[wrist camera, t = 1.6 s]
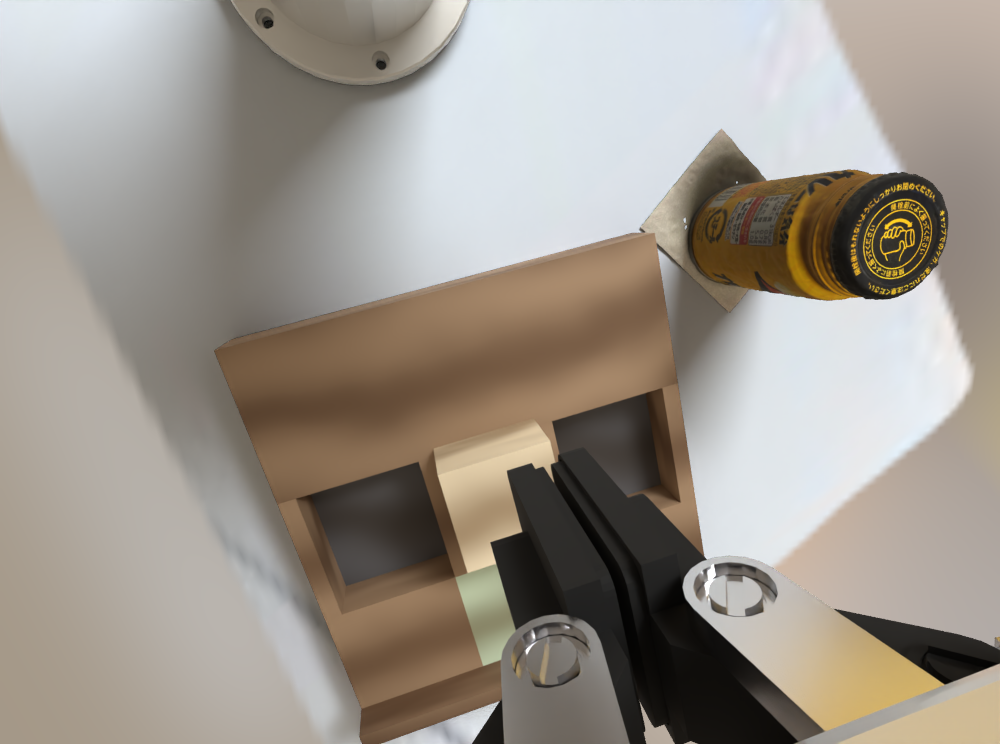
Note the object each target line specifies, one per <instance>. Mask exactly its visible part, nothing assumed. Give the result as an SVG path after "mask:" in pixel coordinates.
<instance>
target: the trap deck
mask: <svg viewBox="0 0 1000 744" xmlns="http://www.w3.org/2000/svg"><path fill="white" fill-rule="evenodd" d="M214 352H215V354H216V356H217V359H218V361H219V364H220V366H221V369H222V371H223V373H224V376H225V378H226V381H227V383H228V386H229V388H230V390H231V393H232V395H233V398H234V400H235V403H236V405H237V407H238V410H239V412H240V415H241V417H242V420H243V422H244V424H245V427H246V429H247V432H248V434H249V437H250V439H251V441H252V444H253V446H254V449H255V451H256V454H257V456H258V458H259V461H260V463H261V466H262V468H263V471H264V473H265V475H266V478H267V480H268V483H269V485H270V488H271V490H272V492H273V495H274V497H275V500H276V502H277V505H278V507H279V509H280V512H281V514H282V517H283V519H284V521H285V524H286V526H287V529H288V531H289V534H290V536H291V538H292V541H293V543H294V546H295V548H296V551H297V553H298V555H299V558H300V560H301V563H302V565H303V568H304V570H305V572H306V575H307V577H308V580H309V582H310V585H311V587H312V589H313V592H314V594H315V597H316V599H317V602H318V604H319V606H320V609H321V611H322V614H323V616H324V619H325V621H326V623H327V626H328V628H329V631H330V633H331V636H332V638H333V640H334V643H335V645H336V648H337V650H338V653H339V655H340V657H341V660H342V662H343V665H344V667H345V670H346V672H347V674H348V677H349V679H350V682H351V684H352V687H353V689H354V691H355V694H356V696H357V699H358V701H359V704H360V706H361V708H362V711H361V723H360V736H359V737H360V740H361V742H362V744H381V743H384V742H387V741H390V740H392V739H395V738H398V737H401V736H403V735H406V734H409V733H412V732H415V731H417V730H420V729H423V728H426V727H428V726H431V725H434V724H437V723H440V722H442V721H445V720H448V719H451V718H453V717H456V716H459V715H462V714H465V713H467V712H470V711H473V710H476V709H478V708H481V707H484V706H487V705H490V704H492V703H495V702H498V701H501V699H502V686H501V657H502V651H503V649H504V647H505V645H506V643H507V641H508V639H509V638H510V637H511V636H512V635H513V634H514V632H515V631H516V630H515V627H514V623H513V620H512V616H511V613H510V610H509V606H508V603H507V599H506V596H505V592H504V589H503V586H502V582H501V579H500V575H499V572H498V568H497V565H496V564H494V565H491V566H488V567H485V568H482V569H479V570H476V571H473V572H470V573H468V572H467V569H466V566H465V563H464V559H463V556H462V553H461V550H460V546H459V543H458V540H457V537H456V533H455V530H454V527H453V524H452V520H451V517H450V514H449V511H448V507H447V504H446V501H445V498H444V494H443V491H442V488H441V485H440V481H439V478H438V474H437V468H436V462H435V456H434V450H433V449H434V448H437V447H441V446H444V445H447V444H451V443H454V442H457V441H461V440H464V439H467V438H471V437H474V436H477V435H480V434H484V433H487V432H490V431H494V430H497V429H500V428H504V427H507V426H510V425H514V424H517V423H520V422H524V421H527V420H530V419H535V421H536V422H537V424H538V425H539V426H540V428H541V429H542V430H543V432H544V433H545V434H546V436H547V437H548V439H549V440H550V442H551V447H552V451H553V455H554V460H555V463H556V462H558V455H559V454H562V453H565V452H568V451H571V450H575V449H578V448H581V447H584V448H585V449H586V450H587V451H588V452H589V454H590V455H591V456H592V457H593V458H594V459H595V460H596V462H597V463H598V464H599V465H600V466H601V467H602V468H603V470H604V471H605V472H606V473H607V474H608V475H609V476H610V478H611V479H612V480H613V481H614V482H615V483H616V484H617V486H618V487H619V488H620V489H621V490H622V491H623V492H624V494H625V495H626V496H627V497H631V496H634V495H637V494H644V495H646V496H647V497H648V498H649V499H650V500H651V501H652V502H653V503H654V504H655V505H656V507H657V508H658V509H659V510H660V511H661V512H662V513H663V514H664V515H665V516H666V517H667V518H668V519H669V520H670V521H671V522H672V523H673V524H674V525H675V526H676V528H677V529H678V530H679V531H680V532H681V533H682V534H683V535H684V536H685V537H686V538H687V539H688V540H689V541H690V542H691V543H692V544H693V545H694V546H695V547H696V549H697V550H698V551H699V552H700V553H701V554H702V555H703V556H704V552H703V546H702V539H701V533H700V526H699V520H698V513H697V506H696V500H695V493H694V487H693V480H692V474H691V467H690V460H689V454H688V447H687V441H686V434H685V428H684V421H683V415H682V408H681V401H680V395H679V388H678V382H677V375H676V369H675V362H674V355H673V349H672V342H671V336H670V329H669V323H668V316H667V309H666V303H665V296H664V290H663V283H662V277H661V270H660V263H659V257H658V250H657V244H656V237H655V233H630V234H626V235H622V236H619V237H615V238H611V239H607V240H604V241H600V242H596V243H592V244H589V245H585V246H581V247H577V248H574V249H570V250H566V251H562V252H559V253H555V254H551V255H547V256H544V257H540V258H536V259H532V260H528V261H525V262H521V263H517V264H513V265H510V266H506V267H502V268H498V269H495V270H491V271H487V272H483V273H480V274H476V275H472V276H468V277H465V278H461V279H457V280H453V281H450V282H446V283H442V284H438V285H434V286H431V287H427V288H423V289H419V290H416V291H412V292H408V293H404V294H401V295H397V296H393V297H389V298H386V299H382V300H378V301H374V302H371V303H367V304H363V305H359V306H356V307H352V308H348V309H344V310H340V311H337V312H333V313H329V314H325V315H322V316H318V317H314V318H310V319H307V320H303V321H299V322H295V323H292V324H288V325H284V326H280V327H277V328H273V329H269V330H265V331H262V332H258V333H254V334H250V335H246V336H243V337H239V338H235V339H232V340H230V341H228V342H227V343H225V344H224V345H222V346H221V347H219V348H217V349H216V350H214Z"/></svg>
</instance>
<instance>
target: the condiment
mask: <svg viewBox="0 0 1000 744" xmlns="http://www.w3.org/2000/svg"><path fill="white" fill-rule="evenodd" d="M736 181H737V182H738V183H737V184H736ZM685 217H686V223H684V221H683V219H684V218H685ZM685 225H687V229H686V230H685V229H684V228H685ZM641 228H642V229H643V230H644V231H645V232H646V233H655V237H656V243H657V244H658V245H660V246H661V247H662V248H663V249H664V250H665V251H666V252H667V253H668V254H669V255H670V256H671V257H672V258H673V259H674V260H675V261H676V262H677V263H678V264H679V265H680V266H681V267H682V268H683V269H684V270H685V271H686V272H687V273H688V274H689V275H690V276H691V277H692V278H693V279H694V280H695V281H696V282H697V283H699V284H700V285H701V286H702V287H703V288H704V289H705V290H706V291H707V292H708V293H709V294H710V295H711V296H712V297H713V298H714V299H715V300H716V301H717V302H718V303H719V304H720V305H721V306H722V307H724V308H725V309H726V310H727V311H728V312H729V313H730V312H731V311H732V309H733V308H734V307H735V306H736V305H737V304H738V302H739V301H740V300H741V299H742V297H743V296H744V295H745V294H746V293H747V291H748V289H754V290H759V291H768V292H770V293H781V294H785V295H791V296H796V297H805V298H810V299H817V300H826V301H830V300H842V299H847V298H856V297H864V298H865V299H875V300H878V299H882V300H883V299H891V298H895V297H898V296H900V295H902V294H905V293H907V292H909V291H911V290H912V289H914V288H915V287H916V286H918V285H919V284H920V283H921V282H922V281H923V280H924V279H925V278H926V277H927V276H928V275H929V274H930V272H931V271H932V270H933V269H934V268H935V267H936V266H937V265H938V260H939V257H940V256H941V254H942V252H943V249H944V247H945V244H946V238H947V230H948V212H947V209H946V206H945V202H944V200H943V197H942V194H941V193H940V192H939V191H938V190H937V188H936V187H935V186H934V185H933V183H931V182H930V181H928V180H926V179H925V178H923V177H920V176H918V175H916V174H913V175H912V174H908V173H905V172H901V173H897V172H896V173H889V174H873V175H871V174H869V173H866V172H862V171H859V170H843V171H834V172H827V173H820V174H813V175H803V176H799V177H791V178H784V179H778V180H770V181H767V180H766V179H765V178H764V177H763V176H762V175H761V173H760V172H759V170H758V169H757V168H756V167H755V166H754V165H753V164H752V163H751V162H750V161H749V159H748V158H747V157H746V156H744V154H743V153H742V152H741V151H740V150H739V149H738V147H737V146H736V145H735V143H734V142H733V140H732V139H731V138H730V137H729V136H728V135H727V134H726V133H725V132H724V131H723V130H722V129H721V130H720V131H719V132H718V133H717V134H716V135H715V137H714V138H713V139H712V140H711V141H710V142H709V143H708V145H707V146H706V147H705V148H704V150H703V151H702V152H701V153H700V154H699V155H698V157H697V158H696V159H695V161H694V162H693V163H692V164H691V165H690V166H689V168H688V169H687V170H686V171H685V172H684V174H683V175H682V176H681V178H680V179H679V180H678V181H677V182H676V184H675V185H674V186H673V187H672V188H671V190H670V191H669V192H668V194H667V195H666V196H665V198H664V199H663V200H662V201H661V203H660V204H659V205H658V206H657V207H656V208H655V210H654V211H653V213H652V214H651V215H650V216H649V218H648V219H647V220H646V221H645V223H644V224H643V225H642V226H641Z"/></svg>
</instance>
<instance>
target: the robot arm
mask: <svg viewBox="0 0 1000 744" xmlns="http://www.w3.org/2000/svg"><path fill="white" fill-rule="evenodd" d="M469 1H470V0H231V2H232V4H233V5H234V7H235V8H236V10H237V11H238V13H239V14H240V16H241V17H242V18H243V20H244V21H245V22H246V23H247V25H248V26H249V27H250V29H251V30H252V31H253V32H254V33H255V34H256V35H257V36H258V37H259V38H260V39H261V40H262V41H263V42H264V43H265V44H266V45H267V46H268V47H269V48H270V49H271V50H272V51H273V52H275V53H276V54H278V55H279V56H280V57H282V58H283V59H285V60H286V61H288V62H289V63H291V64H292V65H294V66H295V67H297V68H299V69H301V70H303V71H305V72H308V73H310V74H312V75H314V76H316V77H319V78H321V79H325V80H329V81H333V82H337V83H341V84H350V85H374V84H380V83H386V82H392V81H394V80H397V79H399V78H402V77H404V76H407V75H409V74H412V73H414V72H415V71H417V70H418V69H420V68H421V67H423V66H424V65H426V64H427V63H429V62H430V61H431V60H433V59H434V57H435V56H436V55H437V54H438V53H439V52H440V51H441V50H442V49H443V48H444V47H445V46H446V45H447V44H448V43H449V41H450V40H451V38H452V36H453V35H454V33H455V32H456V30H457V29H458V27H459V25H460V24H461V22H462V19H463V17H464V14H465V12H466V9H467V6H468V4H469ZM267 20H271V21H273V24H274V25H273V27H271V28H269V29H266V28H265V27H264V23H265V21H267ZM379 61H383V62H385V63H386V68H385V69H383V70H380V69H378V68H377V66H376V64H377V62H379ZM551 471H552V476H553V480H554V482H553V481H552V479H551V477H550V476H549V474H548V473H547V471H546V469H545V468H544V467H540V468H537V469H535V467H534V466H533V464H532V463H530V464H526V465H523V466H520V467H517V468H513V469H510V470H507V476H508V480H509V484H510V487H511V491H512V495H513V499H514V503H515V506H516V510H517V514H518V518H519V521H520V525H521V529H522V532H520V533H517V534H514V535H511V536H508V537H505V538H502V539H499V540H496V541H493V542H490V544H491V547H492V551H493V554H494V558H495V561H496V565H497V568H498V572H499V575H500V579H501V582H502V586H503V589H504V592H505V596H506V599H507V603H508V606H509V610H510V613H511V616H512V620H513V623H514V627H515V630H516V631H515V632H514V634H513V635H512V636H511V637H510V638H509V639H508V641H507V643H506V645H505V647H504V649H503V651H502V657H501V686H502V699H501V701H500V702H499V704H498V705H497V707H496V708H495V710H494V711H493V713H492V714H491V716H490V717H489V719H488V720H487V722H486V723H485V725H484V726H483V728H482V729H481V731H480V732H479V734H478V735H477V737H476V738H475V740H474V742H473V743H472V744H646V741H645V736H644V732H645V725H644V721H643V716H642V712H641V706H640V702H641V704H642V706H643V708H644V710H645V712H646V714H647V716H648V718H649V720H650V722H651V723H652V725H653V726H654V727H655V728H656V727H659V726H661V725H665V726H666V728H667V730H668V732H669V734H670V736H671V737H672V739H673V741H674V743H675V744H684V743H687V742H689V741H692V742H695V743H697V744H1000V637H995V647H993V646H990V645H988V644H987V643H984V642H982V641H979V640H976V639H973V638H969V637H966V636H962V635H958V634H954V633H949V632H944V631H939V630H934V629H930V628H925V627H920V626H915V625H910V624H905V623H900V622H896V621H891V620H885V619H881V618H876V617H871V616H866V615H862V614H856V613H851V612H847V611H842V610H837V609H832V608H831V607H830V606H828V605H827V604H825V603H824V602H822V601H821V600H819V599H817V598H816V597H815V596H813V595H812V594H810V593H809V592H807V591H806V590H805V589H803V588H802V587H800V586H799V585H797V584H796V583H794V582H793V581H791V580H790V579H788V578H787V577H785V576H784V575H783V574H781V573H780V572H778V571H777V570H775V569H774V568H772V567H770V566H768V565H766V564H764V563H762V562H760V561H757V560H754V559H750V558H746V557H738V556H722V557H714V558H711V559H708V560H707V559H706V558H705V557H704V556H703V555H702V554H701V553H700V552H699V551H698V550H697V549H696V547H695V546H694V545H693V544H692V543H691V542H690V541H689V540H688V539H687V538H686V537H685V536H684V535H683V534H682V533H681V532H680V531H679V530H678V529H677V528H676V526H675V525H674V524H673V523H672V522H671V521H670V520H669V519H668V518H667V517H666V516H665V515H664V514H663V513H662V512H661V511H660V510H659V509H658V508H657V507H656V505H655V504H654V503H653V502H652V501H651V500H650V499H649V498H648V497H647V496H646V495H644V494H637V495H634V496H631V497H627V496H626V495H625V494H624V492H623V491H622V490H621V489H620V488H619V487H618V486H617V484H616V483H615V482H614V481H613V480H612V479H611V478H610V476H609V475H608V474H607V473H606V472H605V471H604V470H603V468H602V467H601V466H600V465H599V464H598V463H597V462H596V460H595V459H594V458H593V457H592V456H591V455H590V454H589V452H588V451H587V450H586V449H585V448H584V447H581V448H578V449H575V450H571V451H568V452H565V453H562V454H559V455H558V462H556V463H553V464H551ZM639 701H640V702H639Z"/></svg>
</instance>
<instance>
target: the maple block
mask: <svg viewBox="0 0 1000 744" xmlns="http://www.w3.org/2000/svg"><path fill="white" fill-rule="evenodd" d="M433 450H434V456H435V462H436V468H437V474H438V478H439V481H440V485H441V488H442V491H443V494H444V498H445V501H446V504H447V507H448V511H449V514H450V517H451V520H452V524H453V527H454V530H455V533H456V537H457V540H458V543H459V546H460V550H461V553H462V556H463V559H464V563H465V566H466V569H467V572H468V573H470V572H473V571H476V570H479V569H482V568H485V567H488V566H491V565H494V564H496V561H495V558H494V554H493V551H492V547H491V544H490V542H493V541H496V540H499V539H502V538H505V537H508V536H511V535H514V534H517V533H520V532H522V529H521V525H520V521H519V518H518V514H517V510H516V506H515V503H514V499H513V495H512V491H511V487H510V484H509V480H508V476H507V470H510V469H513V468H517V467H520V466H523V465H526V464H530V463H532V464H533V466H534V467H535V469H537V468H540V467H544V468H545V469H546V471H547V473H548V474H549V476H550V477H551V479H552V481H553V482H554V480H553V476H552V471H551V464H553V463H555V460H554V455H553V451H552V447H551V442H550V440H549V439H548V437H547V436H546V434H545V433H544V432H543V430H542V429H541V428H540V426H539V425H538V424H537V422H536V421H535V419H530V420H527V421H524V422H520V423H517V424H514V425H510V426H507V427H504V428H500V429H497V430H494V431H490V432H487V433H484V434H480V435H477V436H474V437H471V438H467V439H464V440H461V441H457V442H454V443H451V444H447V445H444V446H441V447H437V448H434V449H433Z"/></svg>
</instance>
